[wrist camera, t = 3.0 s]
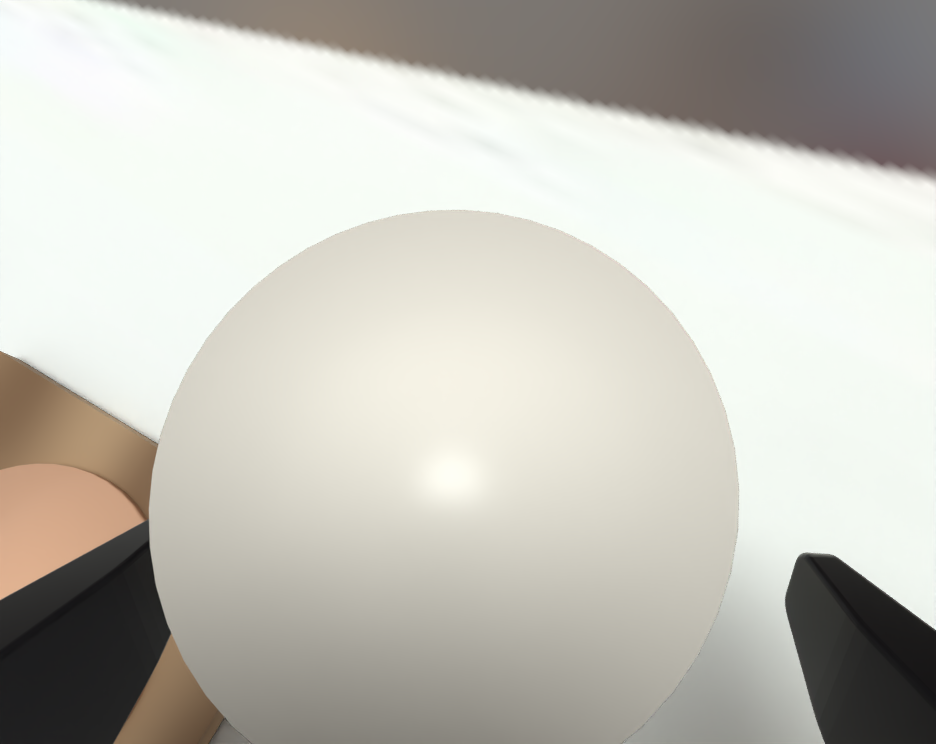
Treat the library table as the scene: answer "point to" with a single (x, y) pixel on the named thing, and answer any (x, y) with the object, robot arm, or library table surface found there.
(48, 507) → the terracotta coaster
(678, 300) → the library table surface
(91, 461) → the walnut board
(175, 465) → the frosted light bulb
